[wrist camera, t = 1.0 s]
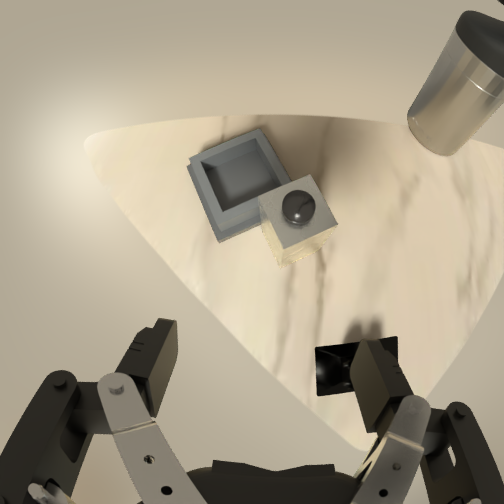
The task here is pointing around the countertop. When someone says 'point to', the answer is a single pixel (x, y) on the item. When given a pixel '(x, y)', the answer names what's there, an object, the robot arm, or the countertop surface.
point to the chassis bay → (236, 181)
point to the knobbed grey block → (295, 220)
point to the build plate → (341, 365)
